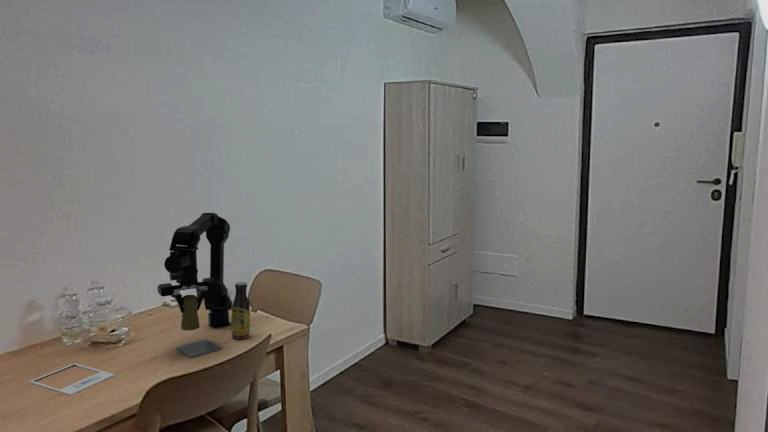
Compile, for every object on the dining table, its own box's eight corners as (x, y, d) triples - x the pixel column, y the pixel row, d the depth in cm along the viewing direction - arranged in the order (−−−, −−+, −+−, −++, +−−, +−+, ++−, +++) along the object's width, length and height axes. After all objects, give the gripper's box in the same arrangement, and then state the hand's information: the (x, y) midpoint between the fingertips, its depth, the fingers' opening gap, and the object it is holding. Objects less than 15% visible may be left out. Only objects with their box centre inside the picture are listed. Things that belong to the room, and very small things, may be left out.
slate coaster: (205, 340, 203) (205, 339, 203) (221, 349, 195) (221, 347, 195) (175, 348, 195) (175, 347, 195) (191, 358, 188) (191, 356, 187)
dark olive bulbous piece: (202, 324, 197) (201, 293, 196) (195, 330, 191) (193, 298, 190) (186, 323, 198) (184, 292, 196) (177, 329, 192) (176, 297, 190)
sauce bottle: (228, 338, 205) (226, 284, 202) (238, 333, 211) (237, 279, 208) (243, 341, 203) (242, 286, 200) (254, 335, 208) (252, 281, 205)
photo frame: (70, 393, 161) (29, 380, 169) (70, 397, 161) (29, 384, 169) (115, 373, 174) (74, 362, 182) (115, 377, 174) (75, 365, 182)
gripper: (208, 257, 203) (210, 300, 206) (152, 264, 193) (155, 309, 195) (218, 264, 194) (220, 309, 196) (160, 271, 184) (162, 318, 186)
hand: (189, 311), depth 194 cm, fingers closed on dark olive bulbous piece, 5 cm apart
